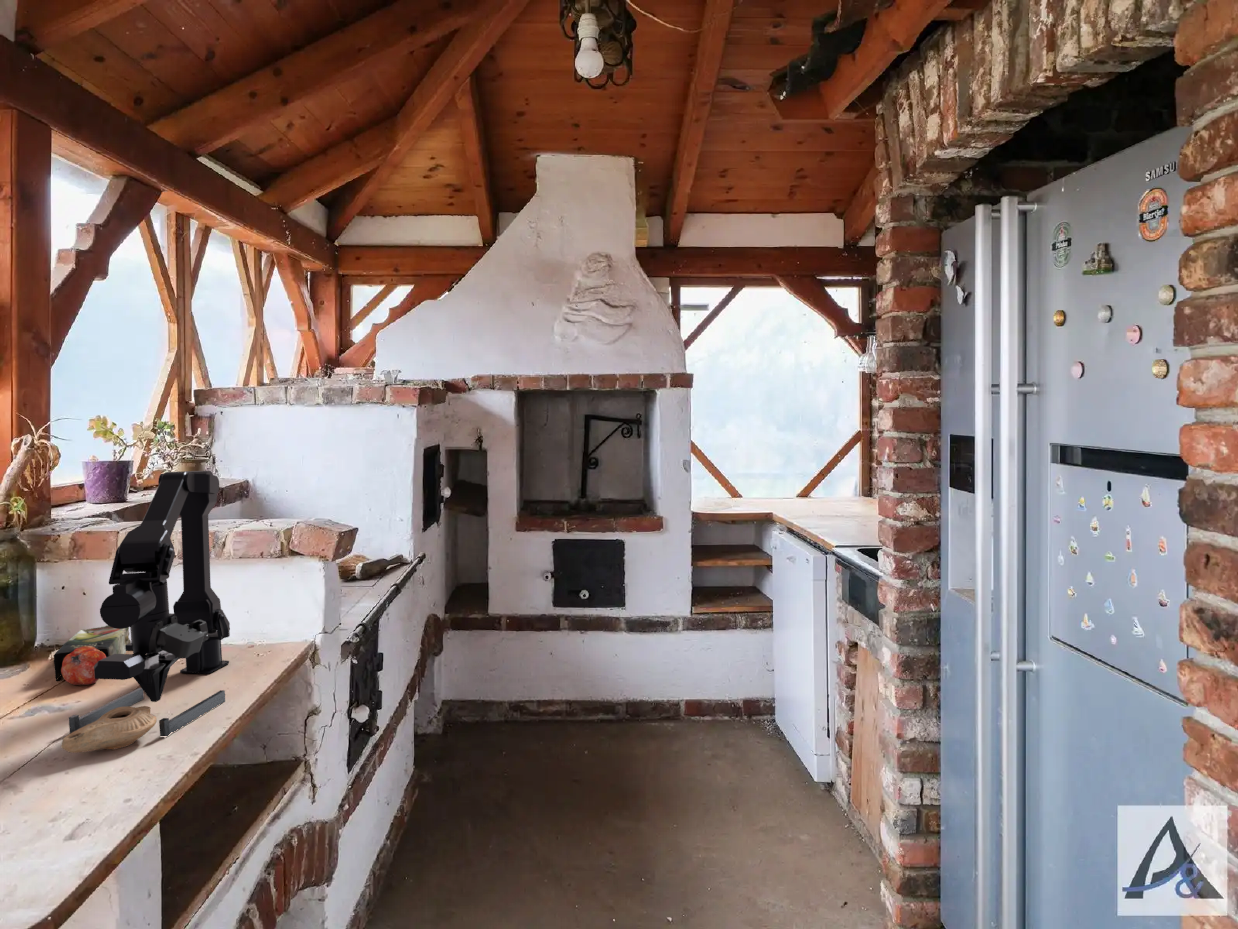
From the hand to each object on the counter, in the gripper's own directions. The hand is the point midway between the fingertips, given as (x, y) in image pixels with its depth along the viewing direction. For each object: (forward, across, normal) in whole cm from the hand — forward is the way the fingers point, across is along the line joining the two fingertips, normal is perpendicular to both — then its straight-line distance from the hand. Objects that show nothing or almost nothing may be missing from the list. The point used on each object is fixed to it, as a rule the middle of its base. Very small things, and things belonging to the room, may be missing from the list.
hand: (155, 701), depth 130 cm
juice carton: (+3, +24, +33) cm, 40 cm away
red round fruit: (+3, +13, +25) cm, 28 cm away
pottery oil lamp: (+2, -12, -2) cm, 13 cm away
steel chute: (+2, -1, 0) cm, 3 cm away
